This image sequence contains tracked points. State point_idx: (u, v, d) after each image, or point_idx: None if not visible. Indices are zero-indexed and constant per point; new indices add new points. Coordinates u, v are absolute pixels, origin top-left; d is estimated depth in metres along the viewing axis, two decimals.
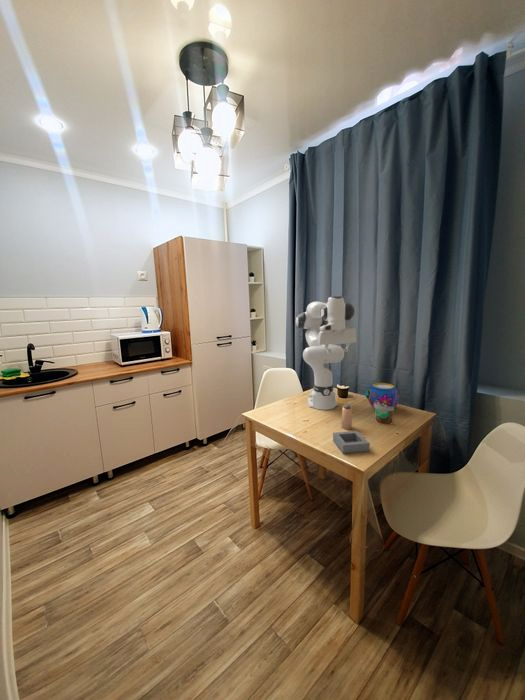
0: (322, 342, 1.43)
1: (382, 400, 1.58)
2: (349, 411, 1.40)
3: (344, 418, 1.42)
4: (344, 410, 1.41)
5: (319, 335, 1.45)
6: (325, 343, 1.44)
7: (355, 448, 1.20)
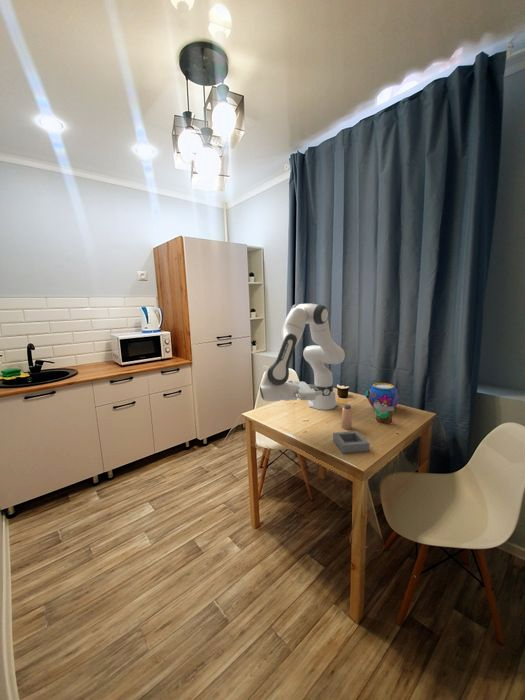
0: None
1: (382, 400, 1.58)
2: (349, 411, 1.40)
3: (344, 418, 1.42)
4: (344, 410, 1.41)
5: None
6: None
7: (355, 448, 1.20)
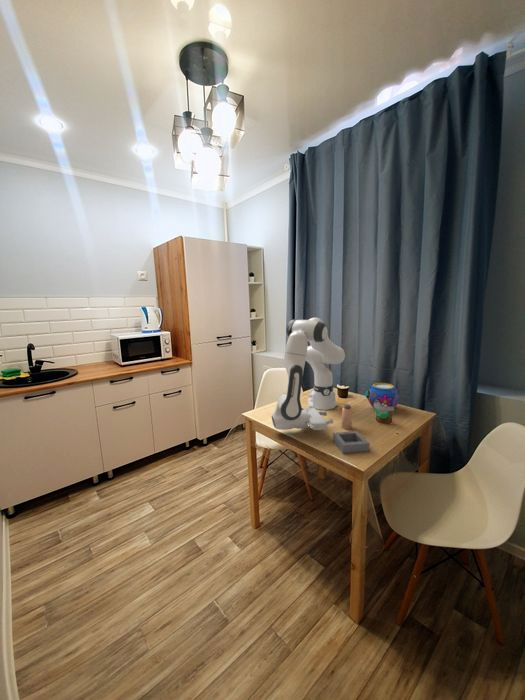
0: None
1: (382, 400, 1.58)
2: (349, 411, 1.40)
3: (344, 418, 1.42)
4: (344, 410, 1.41)
5: None
6: None
7: (355, 448, 1.20)
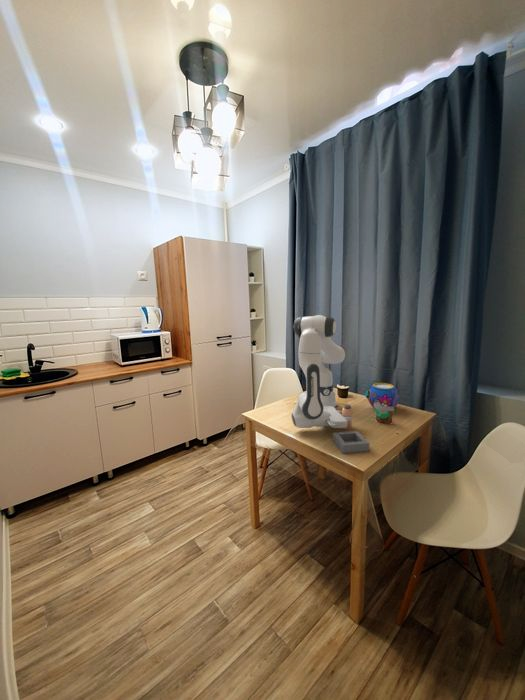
0: None
1: (382, 400, 1.58)
2: (349, 411, 1.40)
3: None
4: (344, 410, 1.41)
5: None
6: None
7: (355, 448, 1.20)
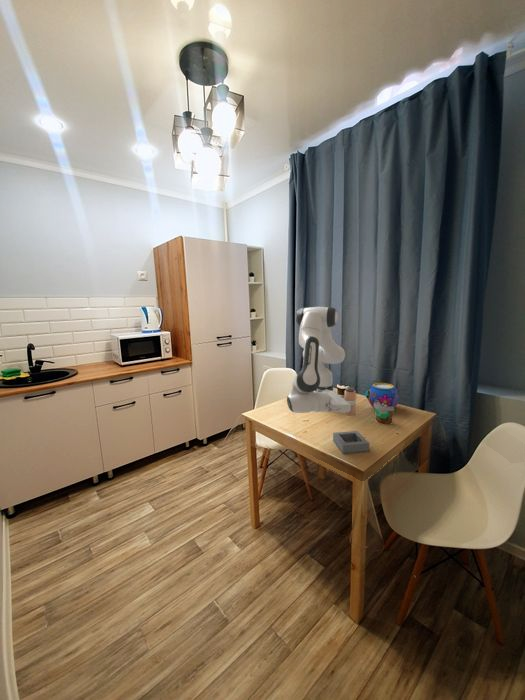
0: None
1: (382, 400, 1.58)
2: (352, 394, 1.24)
3: None
4: (347, 393, 1.25)
5: None
6: None
7: (355, 448, 1.20)
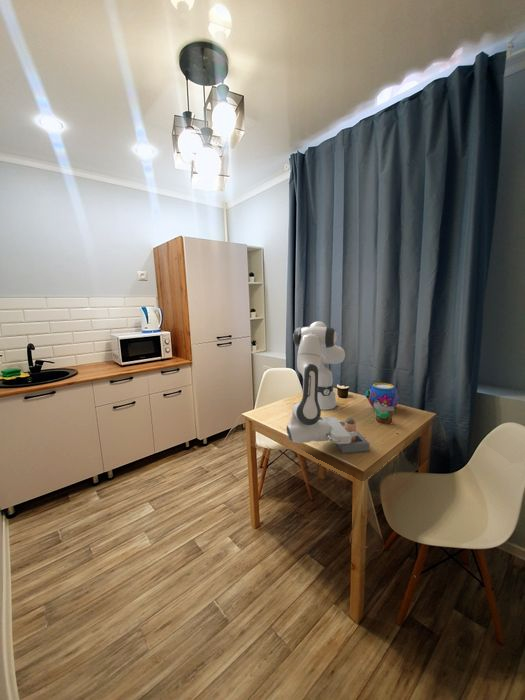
0: None
1: (382, 400, 1.58)
2: (353, 426, 1.22)
3: None
4: (347, 425, 1.23)
5: None
6: None
7: (355, 448, 1.20)
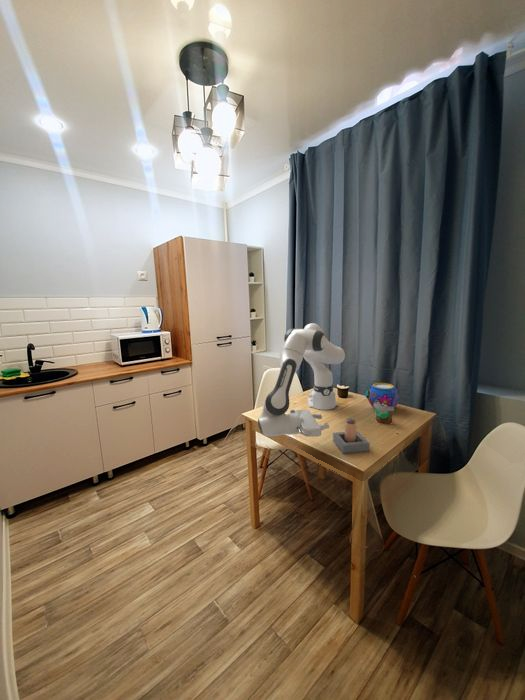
0: None
1: (382, 400, 1.58)
2: (353, 426, 1.22)
3: (347, 434, 1.23)
4: (347, 425, 1.23)
5: None
6: None
7: (355, 448, 1.20)
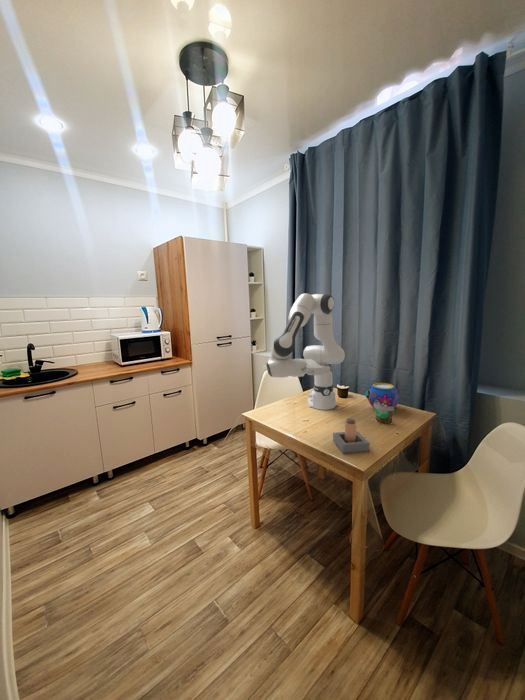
0: None
1: (382, 400, 1.58)
2: (353, 426, 1.22)
3: (347, 434, 1.23)
4: (347, 425, 1.23)
5: None
6: None
7: (355, 448, 1.20)
